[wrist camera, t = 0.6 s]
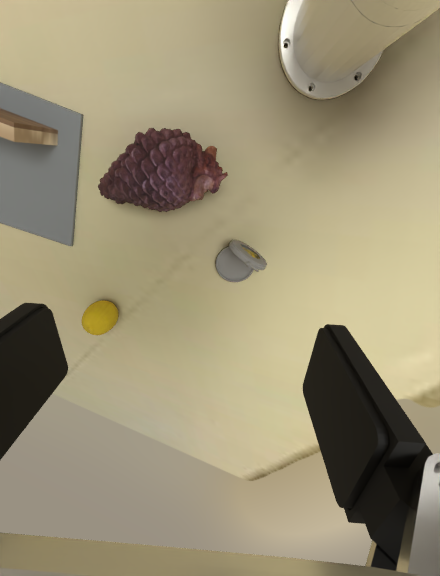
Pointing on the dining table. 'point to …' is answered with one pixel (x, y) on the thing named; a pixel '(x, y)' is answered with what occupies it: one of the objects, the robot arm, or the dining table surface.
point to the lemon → (100, 317)
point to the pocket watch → (238, 261)
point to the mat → (40, 170)
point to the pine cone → (162, 171)
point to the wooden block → (25, 130)
